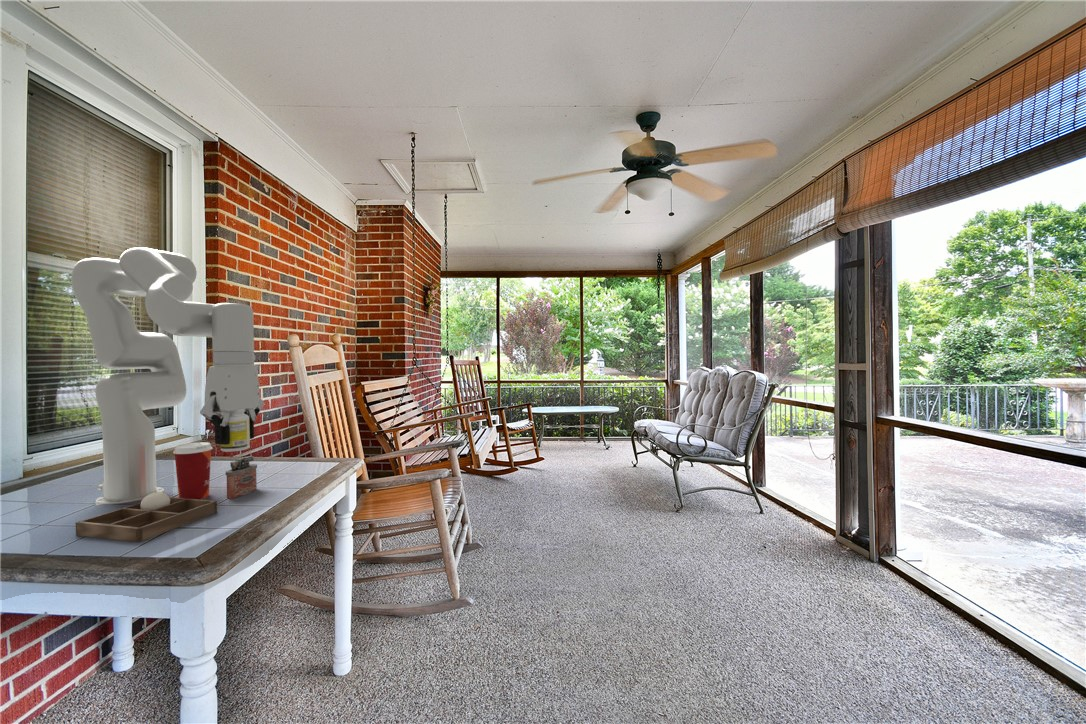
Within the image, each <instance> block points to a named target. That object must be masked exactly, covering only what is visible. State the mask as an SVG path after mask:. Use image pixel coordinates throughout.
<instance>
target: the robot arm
mask: <svg viewBox="0 0 1086 724" xmlns="http://www.w3.org/2000/svg"><path fill="white" fill-rule="evenodd" d="M197 274H198V273H197V268H196V265H195V264H194V262H193V261H192V260H191V259H190V258H188V257H187V256H185V255H183V254H181V253H175V252H170V251H166V250H160V249H159V250H158V249H154V248H149V247H131V248H129V249H127V250H125V251H124V252H122V254H121V255H120V257H119V259H112V258H103V257H89V258H88V257H87V258H83V259H81V260H78V261H77V263H75V264H74V266H73V268H72V272H71V278H70V279H71V280H70V281H71V287H72V291H73V294H74V296H75V299H76V301H77V302H78V305H79V306H80V308H81V310H82V311H83V313H84V316H85V317H86V320H87V325H88V328H89V329H88V330H89V333H90V337H91V338H90V339H91V343H92V345H93V350H94V355H95V357H96V360H97V362H98V364H99V365H100V366H101V367H103V368H105V369H111V370H141V369H142V370H143V369H149V370H150V372H148V371H147V372H146V371H141V372H140V371H139V372H121V373H114V374H110V375H107V376H105V377H102V379H100V380H98V382H97V384H96V386H95V389H94V390H95V391H94V392H95V399H96V402H97V405H98V410H99V413H100V419H101V431H102V432H101V433H102V435H101V436H102V453H103V454H102V457H103V460H102V461H103V482H102V484H98V486H96V487H97V488H96V489H97V491H102V496H100V497H98V498H96V499H95V506H100V505H117V504H125V503H132V502H137V501H142V500H143V498H144V497H146V496H147V495H148V494H150V493H153V492H163V493H165V489H164V488H163V487H160V486H157V470H156V469H157V466H156V465H157V464H156V461H157V460H156V457H157V456H156V430H155V425H154V423H153V421H152V420H151V419H150V418H149V417H148V416H147V415H146V414H145V413H144V412H143V411H146V410H153V409H163V408H169V407H175V406H177V405H180V404H182V402H184V400H185V398H186V396H187V384H186V378H185V375H184V371H183V366H182V362H181V359H180V354H179V350H178V347H177V345H176V342H174V340H173V339H172V338H171V336H168V335H167V334H165V333H159V332H145V331H144V332H141V331H140V330H139V329H138V328H137V324H136V321H135V317H134V314H133V313H132V311H131V310H130V309H129V307H127V305H125V303H124V302H122V301H121V300H120V299H118V298H117V297H115V295H123V296H129V297H130V296H132V297H141V298H143V297H144V306H145V310H146V315H148V318H149V319H151V321H152V322H154V323H155V324H156V325H157V326H158V327H159V328H161V329H162V330H163V331H165V332H166V333H168V334H170V335H173V336H178V337H201V338H202V337H205V338H212V342H211V343H212V348H211V349H212V366H208V370H207V374H206V380H205V384H204V386H205V389H204V405H203V406H202V408H201V409H200V411H199V413H200V415H201V416H203V417H204V418H205V419H206V420H207V421H208V422H209V423H211V426H212V427H214V443H215V444H216V445H220V444H223V445H227V444H229V443H230V427H229V426H226V425H227V422H228V418H229V415H230V412H234V411H237V410H241V409H245V412H244V414H246V415H248V416H249V423H250V440H252V439H254V438H255V424H254V423H255V421H256V420H257V416H258V415H259V413H260V412H261V411H260V410H262V409H263V408H264V406H265V402H264V400H263V399H262V398H261V397H260V382H259V375H258V371H257V367H256V365H255V360H256V358H257V356H256V354H255V333H254V332H255V331H254V326H255V325H254V324H255V323H254V310H253V308H252V307H251V306H250V305H248V304H245V303H236V302H235V303H234V302H233V303H232V302H220V303H219V302H218V303H216V304H215V303H208V302H207V303H206V302H197V301H186V300H188V298H190V297H191V294H192V293H193V289H194V285H193V284H194V283H195V280H196V279H197ZM221 417H222V418H221Z"/></svg>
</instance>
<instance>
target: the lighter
mask: <svg viewBox="0 0 1086 724" xmlns="http://www.w3.org/2000/svg"><path fill="white" fill-rule="evenodd" d="M254 458H255V457H254V456H253V455H249V456H245V457H242V458H241V457H239V458H235V460H234V461H230V468H231V469H228V470H226V471H225V476H226V498H227V499H236V498H238V497H242V496H245V495H248V494H250V493H253V492H255V491H257V487H258V486H257V483H258V481H257V468H258V464H257V463H253V464H252V463H251V462H253V461H254V460H255V459H254ZM250 463H251V464H250Z"/></svg>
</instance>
